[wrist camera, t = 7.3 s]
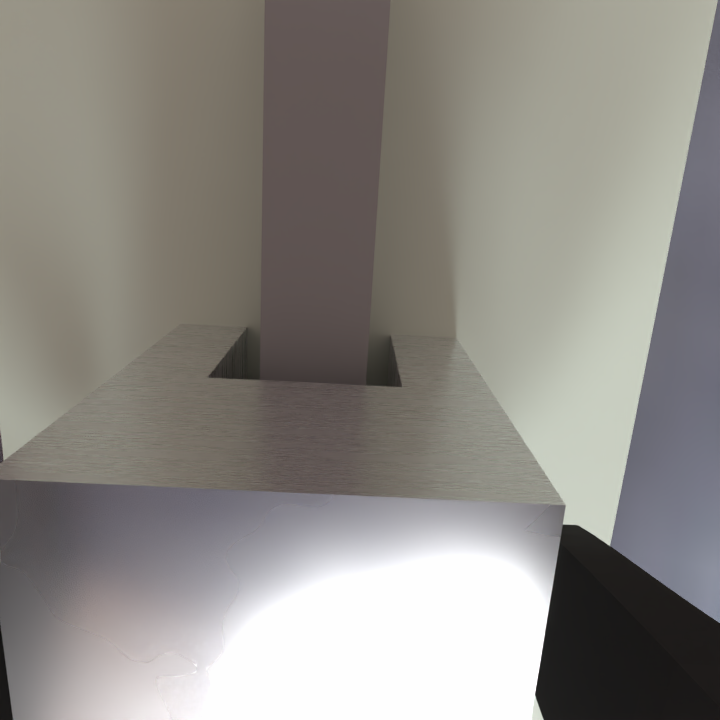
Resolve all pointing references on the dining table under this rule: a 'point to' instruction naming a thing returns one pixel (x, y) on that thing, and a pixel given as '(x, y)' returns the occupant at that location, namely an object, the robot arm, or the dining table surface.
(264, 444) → the block
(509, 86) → the rail plate
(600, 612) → the robot arm
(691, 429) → the dining table surface
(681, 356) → the dining table surface
